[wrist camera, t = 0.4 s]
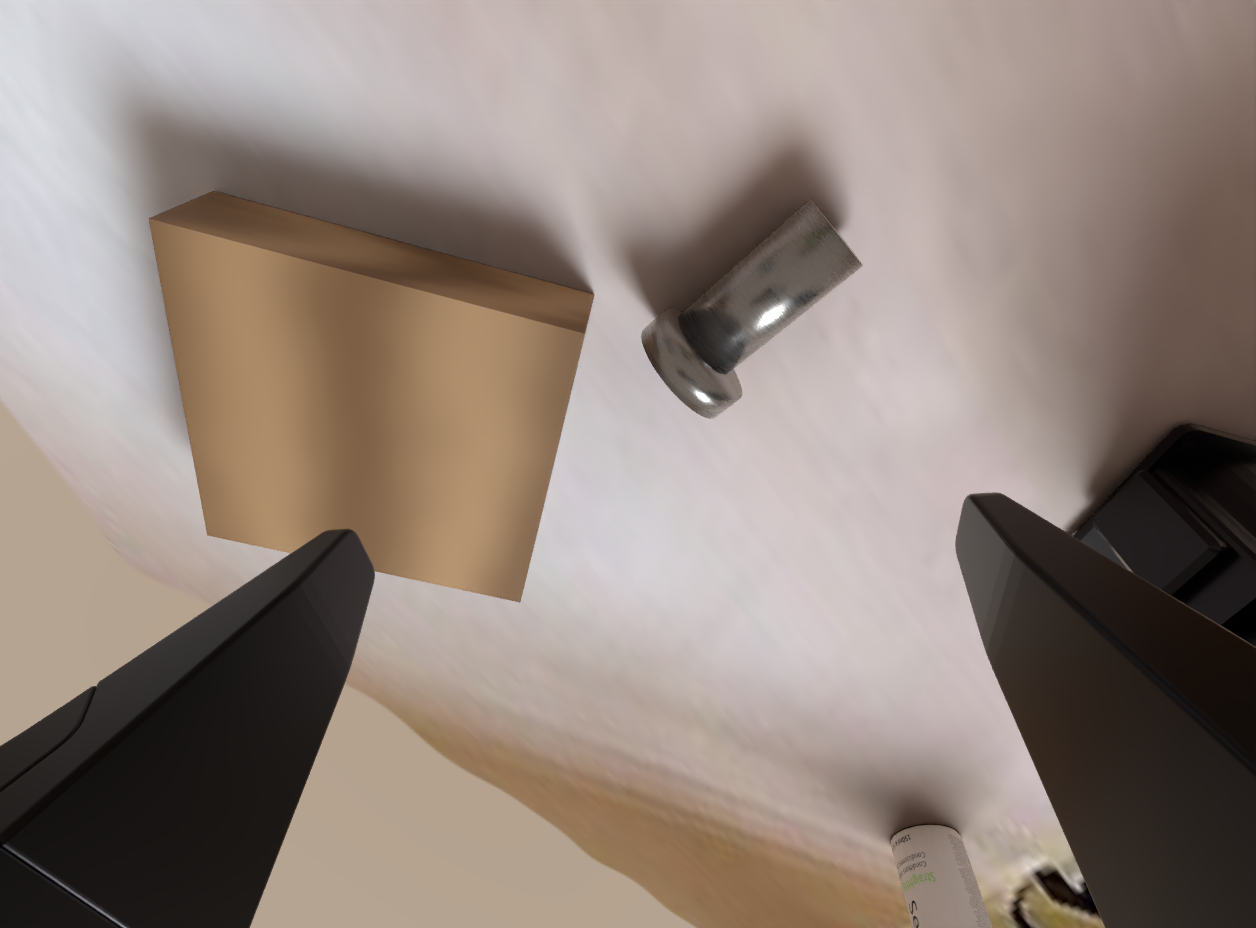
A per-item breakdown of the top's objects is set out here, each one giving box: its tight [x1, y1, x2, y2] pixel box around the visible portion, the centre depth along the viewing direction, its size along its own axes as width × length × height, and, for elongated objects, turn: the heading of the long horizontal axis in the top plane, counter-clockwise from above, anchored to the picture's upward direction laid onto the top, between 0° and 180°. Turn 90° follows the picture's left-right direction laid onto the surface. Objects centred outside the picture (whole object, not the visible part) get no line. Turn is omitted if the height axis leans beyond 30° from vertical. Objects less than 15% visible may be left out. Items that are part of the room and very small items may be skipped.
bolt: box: [641, 199, 863, 418], centre depth 19 cm, size 6×4×4 cm, turn 135°
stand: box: [149, 191, 594, 602], centre depth 22 cm, size 12×12×3 cm
